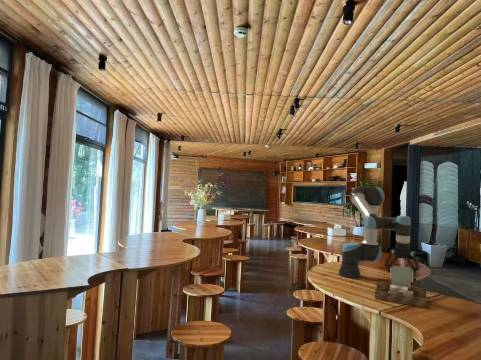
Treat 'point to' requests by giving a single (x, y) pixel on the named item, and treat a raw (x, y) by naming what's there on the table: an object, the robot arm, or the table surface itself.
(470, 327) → the table surface
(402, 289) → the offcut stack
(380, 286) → the rack
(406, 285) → the grey-green flat block
